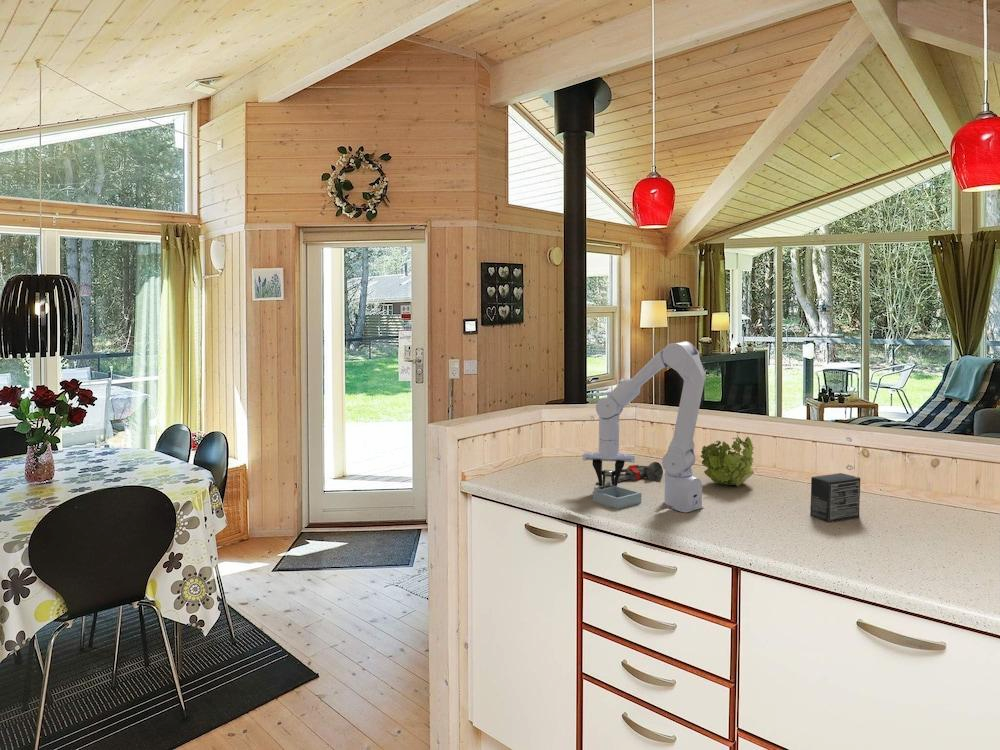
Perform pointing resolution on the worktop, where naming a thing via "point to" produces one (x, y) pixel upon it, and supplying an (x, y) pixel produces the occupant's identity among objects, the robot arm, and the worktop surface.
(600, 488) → the plate
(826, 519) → the small box
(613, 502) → the bin
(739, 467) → the lettuce head
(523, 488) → the worktop surface
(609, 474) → the metal capped cylinder
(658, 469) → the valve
